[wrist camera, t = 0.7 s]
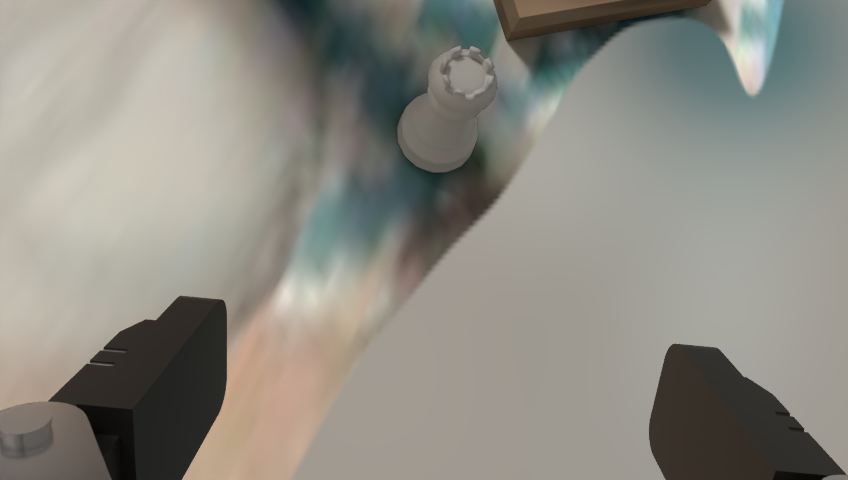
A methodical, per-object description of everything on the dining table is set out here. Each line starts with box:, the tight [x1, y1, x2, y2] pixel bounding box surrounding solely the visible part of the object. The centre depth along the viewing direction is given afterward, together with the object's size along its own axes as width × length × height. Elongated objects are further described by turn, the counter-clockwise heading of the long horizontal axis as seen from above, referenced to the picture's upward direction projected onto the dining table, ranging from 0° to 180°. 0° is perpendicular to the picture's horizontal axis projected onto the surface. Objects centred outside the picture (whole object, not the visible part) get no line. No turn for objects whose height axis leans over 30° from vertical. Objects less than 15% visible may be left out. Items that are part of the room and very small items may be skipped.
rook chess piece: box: [397, 46, 497, 172], centre depth 33 cm, size 4×4×8 cm
